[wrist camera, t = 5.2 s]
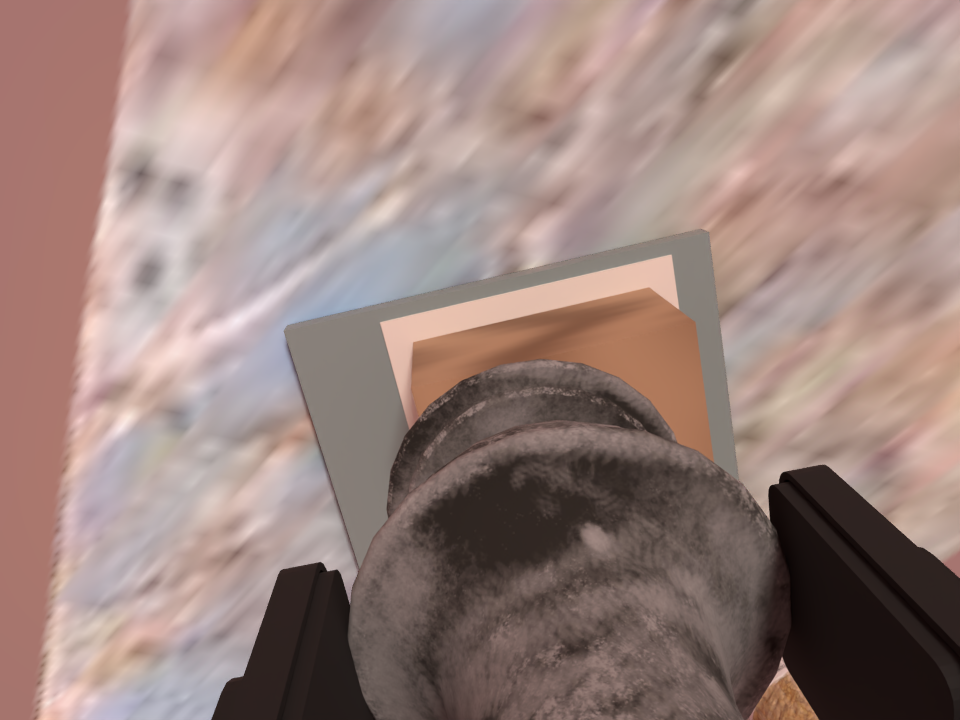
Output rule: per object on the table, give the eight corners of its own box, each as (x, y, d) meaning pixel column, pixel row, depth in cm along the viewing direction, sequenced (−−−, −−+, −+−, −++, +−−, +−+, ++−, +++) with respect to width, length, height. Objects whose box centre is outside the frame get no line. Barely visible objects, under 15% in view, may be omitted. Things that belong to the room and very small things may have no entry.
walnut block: (649, 287, 28) (695, 322, 23) (680, 496, 31) (727, 566, 26) (412, 341, 28) (410, 388, 23) (466, 546, 31) (474, 625, 26)
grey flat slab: (701, 229, 28) (709, 232, 27) (735, 504, 32) (743, 514, 31) (287, 325, 28) (283, 331, 27) (370, 588, 32) (369, 601, 31)
